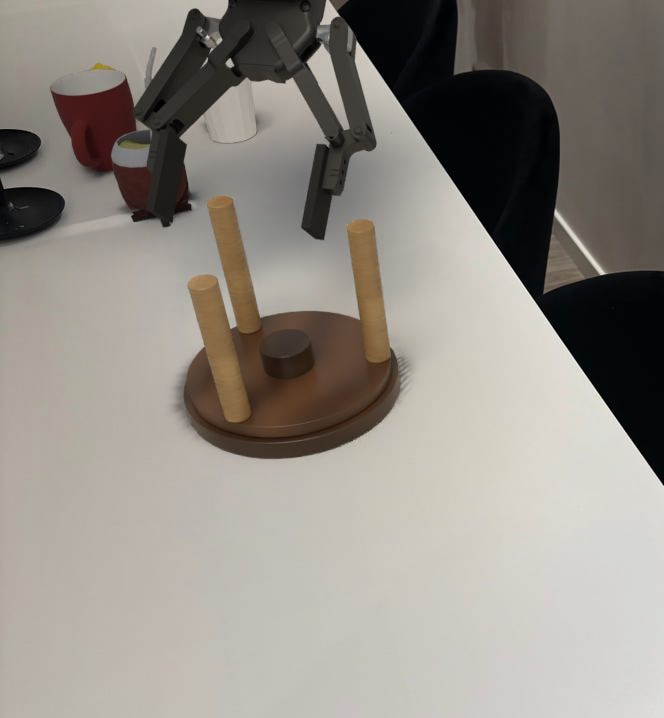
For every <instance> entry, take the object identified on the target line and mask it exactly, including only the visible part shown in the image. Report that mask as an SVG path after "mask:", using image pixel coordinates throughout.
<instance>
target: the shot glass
mask: <svg viewBox="0 0 664 718" xmlns="http://www.w3.org/2000/svg"><path fill="white" fill-rule="evenodd" d="M226 65H227V66H228V67H230V68H231V67H233V66H234V64H226ZM202 117H203V120H204V122H205V125H206V129H207V132H208V134H209V138H210V139H211V140H212V141H213V142H216V143H220V144H233V143H235V144H236V143H240V142H244V141H247V140H250V139H251V138H253V137H254V136H255V135H256V134H257V132H258V131H257V122H256V112H255V103H254V93H253V85H252V81H250V80H249V79H248V78H246V79H245V80H244V81H243V82H242V83H241V84H239V85H238V86H236V87H231V88H229V89H228V90H227V91H226V92H225V93H224V94H223V95H222V96H221V97H220V98H219V99H218V100H217V101H216V102H215V103H214V104H213V105H212V106H211V107H210V108H209V109H208V110H207V111H206V112H205V113H204V114H203V115H202Z"/></svg>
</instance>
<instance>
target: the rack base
mask: <svg viewBox="0 0 664 718" xmlns="http://www.w3.org/2000/svg"><path fill="white" fill-rule="evenodd" d="M390 353H391V361H392V372H391V377H390V380H389V382H388V384H387V386H386V388H385V389H384V391H383V392H382V394H381V395H380V396H379V397H378V398H377V399H376V400H375V401H374V402H373V403H372V404H371V405H370V406H368V407H367V408H366V409H365V410H363V411H362V412H360V413H359V414H357V415H356V416H354V417H352V418H350V419H348V420H346V421H344V422H342V423H339V424H337V425H334V426H332V427H329V428H326V429H323V430H320V431H316V432H312V433H308V434H303V435H296V436H290V437H276V438H272V437H252V436H245V435H240V434H235V433H232V432H228V431H225V430H223V429H220V428H218V427H216V426H214V425H212V424H211V423H209V422H208V421H206V420H205V419H204V418H203V417H201V416H200V415H199V414H198V412H197V411H196V410H195V408H194V407H193V405H192V402H191V400H190V397H189V394H188V390H187V385H186V382H185V383H184V386H183V402H184V406H185V409H186V413H187V417H188V419H189V421H190V423H191V426H192V427H193V429H194V430H195V432H196V433H197V434H198V435H199V436H200V437H201V438H202V439H204V440H205V441H206V442H207V443H209V444H211V445H212V446H214V447H215V448H218V449H220V450H222V451H225V452H228V453H231V454H235V455H239V456H243V457H248V458H256V459H273V460H274V459H290V458H291V459H292V458H298V457H299V458H300V457H306V456H310V455H314V454H320V453H323V452H326V451H330V450H333V449H335V448H339V447H340V446H343V445H345V444H348V443H350V442H352V441H354V440H356V439H357V438H359V437H361V436H363V435H364V434H366V433H368V432H369V431H370V430H372V429H374V428H375V427H376V426H377V425H378V424H379V423H380V422H382V421H383V420H384V418H385V417H387V415H388V414H389V413H390V411H391V410H392V408H393V407H394V405H395V403H397V402H396V401H397V399H398V397H399V393H400V389H401V375H400V366H399V362H398V358H397V356H396V353H395V351H394V350H393V348H392V347H391V346H390Z"/></svg>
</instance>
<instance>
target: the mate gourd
mask: <svg viewBox="0 0 664 718" xmlns="http://www.w3.org/2000/svg"><path fill="white" fill-rule="evenodd" d="M157 50H158V49H157V47H155V46H152V47H151V50H150V53H149V57H148V61H147V62H146V63H147V64H146V70H145V78H144V79H143V81H144V90H146V88H147V87H148V85H149V84H150V82H151V81H152V79H153V78H152V74H153V68H154V63H155V59H156V53H157ZM151 137H152V130H150V129H141V130H137V131H135V132H131V133H128V134H125V135H123V136H122V137H120V138H118V140H117V141H116V142H115V144H114V146H113V149H112V153H111V157H112V167H113V175H114V178H115V181H116V183H117V186H118V189H119V192H120V194H121V197H122V199H123V200H124V202H125V204H126V206H127V207H128V208H129V210H130V211H131V210H133V211H131V213H132V214H131V215H130V218H131V219H132V222H134V223H135V222H141V221H146V220H151V219H157V218H158V217H156V216H155V215H153V214H152V213H150V212H148V211H147V210H146V204H147V199H148V194H149V189H150V183H151V178H152V173H151V172H150V171H148V170H147V158H148V153H149V148H150V142H151ZM189 188H190V186H189V179H188V173H187V168H186V163H185V162H184V164H183V169H182V175H181V180H180V185H179V191H178V196H177V201H176V206H175V212H174V215H175V214H180V213H187V212H190V211H192V210H193V205H192V203H190V202H189V200H186V199H189V193H190V191H189ZM183 200H184V201H183ZM138 209H139V210H138ZM159 220H160V223H161V226H162V228H167V227H170V226H171V222H165V221H163V220H161V219H160V218H159Z"/></svg>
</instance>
